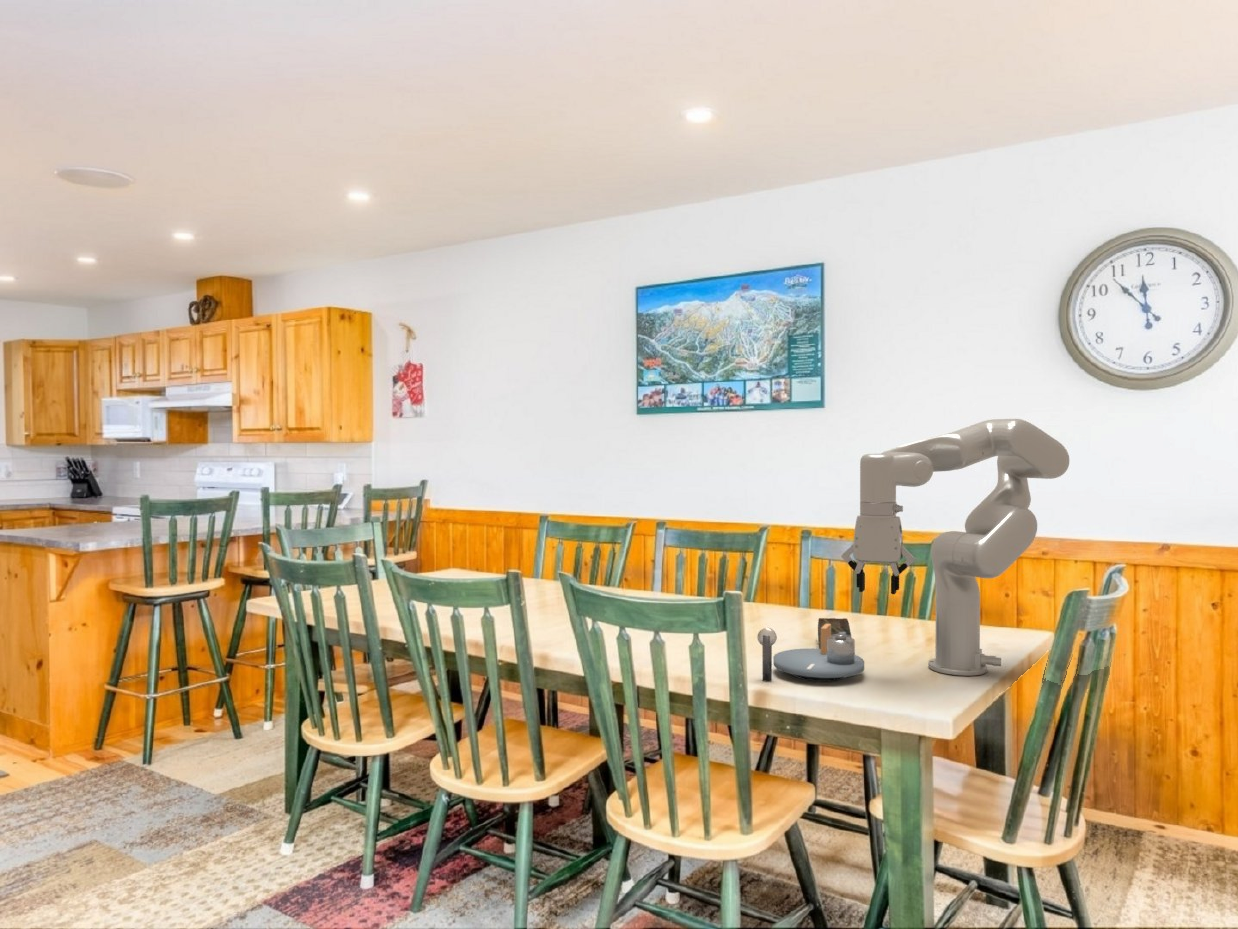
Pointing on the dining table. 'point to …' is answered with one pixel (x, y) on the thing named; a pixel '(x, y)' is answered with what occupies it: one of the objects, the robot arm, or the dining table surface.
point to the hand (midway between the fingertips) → (877, 591)
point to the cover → (840, 650)
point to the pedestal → (818, 678)
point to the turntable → (815, 661)
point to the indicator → (767, 651)
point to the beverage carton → (834, 627)
